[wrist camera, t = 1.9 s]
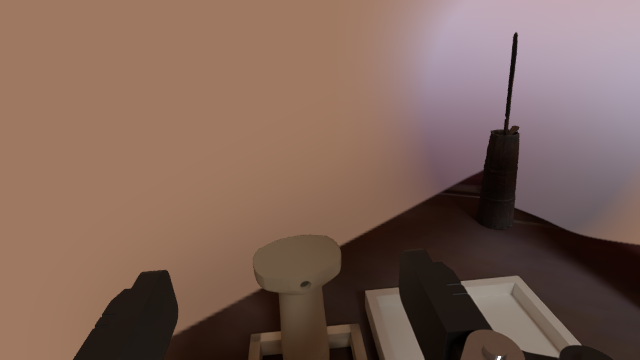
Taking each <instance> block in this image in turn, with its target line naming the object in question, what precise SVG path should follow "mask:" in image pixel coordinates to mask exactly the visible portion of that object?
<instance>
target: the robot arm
mask: <svg viewBox="0 0 640 360" xmlns="http://www.w3.org/2000/svg"><path fill="white" fill-rule="evenodd" d="M399 294H400V299H401V303H402V305H403V308H404V310H405V313H406V315H407V317H408V320H409V322H410V325H411V327H412V330H413V332H414V335H415V337H416V339H417V342H418V344H419V347H420V349H421V352H422V354H423V356H424V359H425V360H613V359H612V358H610V357H609V356H607V355H605V354H604V353H602V352H600V351H598V350H596V349H593V348H590V347H587V346H582V345H569V346H567V347H565V348H563V349H562V350H561V352H560V355H559V358H557V357H552V356H546V355H541V354H535V353H530V352H526V351H523V350H521V349H520V347H519V346H518V345H517V344H516V343H515V342H514V341H513V340H511V339H510V338H509V337H507V336H505V335H503V334H501V333H499V332H496V331H494V330H493V329H492V327H491V326H490V324H489V323H488V321H487V320H486V319H485V317H484V316H483V314H482V313H481V311H480V310H479V308H478V307H477V305H476V304H475V302H474V301H473V299H472V298H471V296H470V295H469V294H468V292H467V290H466V289H465V287H464V286H463V285H462V284H461V281H460V280H459V278H458V277H457V276H456V274H455V273H454V271H453V270H451V269H450V268H449V267H447V266H446V265H445V264H443V263H442V262H434V263H433V262H432V260H431V258H430V257H429V255H428V253H427V252H426V250H425V249H412V250H403V251H402V252H401V258H400V273H399ZM177 319H178V304H177V300H176V297H175V293H174V290H173V286H172V283H171V279H170V275H169V273H168V271H167V270H159V271H148V272H142V273H140V275H139V276H138V278H137V280H136V281H135V283H134V285H133V286H132V288H131V289H124V290H123V291H122V292H121V293H120V294H118V295H117V296H116V297H115V298H114V299H113V300H112V301H111V302H110V303H109V305H108V306H107V308H106V309H105V311H104V312H103V314H102V317H100V319H99V320H98V322H97V323H96V325H95V328H94V329H92V331H91V332H90V334H89V336H88V337H87V339H86V340H85V342H84V343H83V345H82V346H81V348H80V350H79V351H78V353H77V354H76V356H75V357H74V359H73V360H163V358H164V356H165V353H166V350H167V348H168V345H169V342H170V340H171V337H172V334H173V332H174V329H175V326H176V324H177Z"/></svg>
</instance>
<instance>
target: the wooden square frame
mask: <svg viewBox="0 0 640 360" xmlns="http://www.w3.org/2000/svg"><path fill="white" fill-rule="evenodd" d="M327 332H328V339H329V349H330V348H339V347H349V346H351V349H352V354H353V359H354V360H367V356H366V352H365V348H364V343H363V339H362V335H361V331H360V326H359V323H357V324H347V325H337V326H327ZM274 354H282V345H281V331H279V332H269V333H259V334H251V341H250V349H249V358H248V360H263V356H264V355H274Z"/></svg>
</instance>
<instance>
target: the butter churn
mask: <svg viewBox="0 0 640 360" xmlns="http://www.w3.org/2000/svg"><path fill="white" fill-rule="evenodd" d="M517 37H518V35H517V33H515V34H514V37H513V45H512V57H511V66H510V75H509V85H508V96H507V104H506V114H505V116H506V119H505V124H504V130H493V131H491V136H490V139H489V145H488V148H487V156H486V160H485V164H484V173H483V174H484V176H483V182H482V188H481V192H480V199H479V205H478V211H477V218H476V219H477V221H478V222H479V223H480V224H482V225H484V226H486V227H488V228H492V229H506V228H507V227H508V226H512V224H513V218H514V203H515V190H516V178H517V169H518V167H517V166H518V165H517V164H518V155H519V133H518V132H516V131H517V130H518V129H519V127H518V126H512V128H511V129H510V130H509V129H508V124H509V115H510V107H511V106H510V105H511V95H512V87H513V79H514V72H515V63H516V55H517Z"/></svg>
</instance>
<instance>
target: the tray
mask: <svg viewBox="0 0 640 360" xmlns="http://www.w3.org/2000/svg"><path fill="white" fill-rule="evenodd" d="M461 284H462V285H463V286H464V287H465V289H466V290H467V292H468V294H469V295H470V296H471V298H472V299H473V301H474V302H475V304H476V305H477V307H478V308H479V310H480V311H481V313H482V314H483V316H484V317H485V319H486V320H487V321H488V323H489V324H490V326H491V327H492V329H493V330H494V331H496V332H499V333H501V334H503V335H505V336H507V337H509V338H510V339H511V340H513V341H514V342H515V343H516V344H517V345H518V346H519V347H520V349H521V350H523V351H526V352H530V353H535V354H541V355H546V356H552V357H557V358H559V355H560V352H561V350H562V349H563V348H565V347H567V346H569V345H581V344H580V343H579V342H578V341H577V340H576V339H575V337H574V336H573V335H572V334H571V333H570V332H569V331H568V330H567V329H566V328H565V326H564V325H563V324H562V323H561V322H560V321H559V320H558V319H557V318H556V317H555V316H554V314H553V313H552V312H551V311H550V310H549V309H548V308H547V307H546V306H545V305H544V303H543V302H542V301H541V300H540V299H539V298H538V297H537V296H536V295H535V294H534V293H533V291H532V290H531V289H530V288H529V287H528V286H527V285H526V284H525V283H524V282H523V280H522V279H521V278H520V277H519V276H511V277H501V278H490V279H480V280H470V281H461ZM365 309H366V313H367V316H368V320H369V324H370V327H371V331H372V335H373V338H374V342H375V346H376V349H377V353H378V357H379V360H425V359H424V356H423V354H422V352H421V349H420V347H419V344H418V342H417V339H416V337H415V335H414V332H413V330H412V327H411V325H410V322H409V320H408V317H407V315H406V313H405V310H404V308H403V305H402V303H401V299H400V294H399V287H398V288H388V289H378V290H367V291H365Z"/></svg>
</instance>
